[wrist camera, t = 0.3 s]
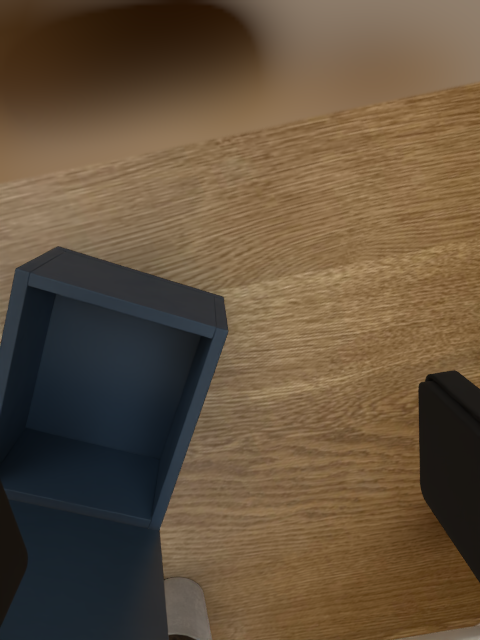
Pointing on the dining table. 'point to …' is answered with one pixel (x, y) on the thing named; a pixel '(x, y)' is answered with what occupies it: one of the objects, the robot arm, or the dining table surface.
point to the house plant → (186, 610)
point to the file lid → (86, 579)
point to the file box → (102, 385)
